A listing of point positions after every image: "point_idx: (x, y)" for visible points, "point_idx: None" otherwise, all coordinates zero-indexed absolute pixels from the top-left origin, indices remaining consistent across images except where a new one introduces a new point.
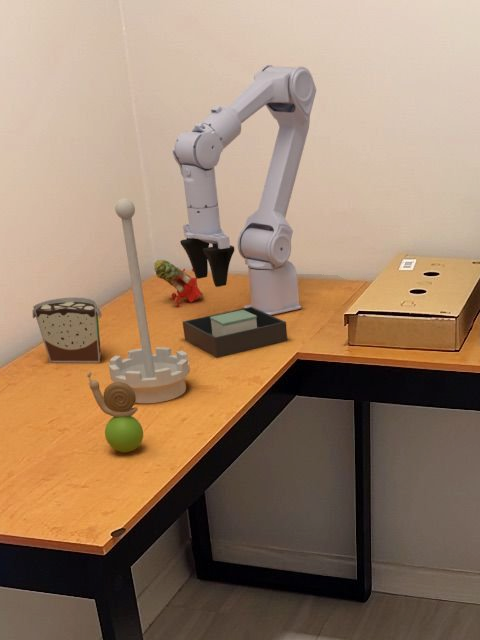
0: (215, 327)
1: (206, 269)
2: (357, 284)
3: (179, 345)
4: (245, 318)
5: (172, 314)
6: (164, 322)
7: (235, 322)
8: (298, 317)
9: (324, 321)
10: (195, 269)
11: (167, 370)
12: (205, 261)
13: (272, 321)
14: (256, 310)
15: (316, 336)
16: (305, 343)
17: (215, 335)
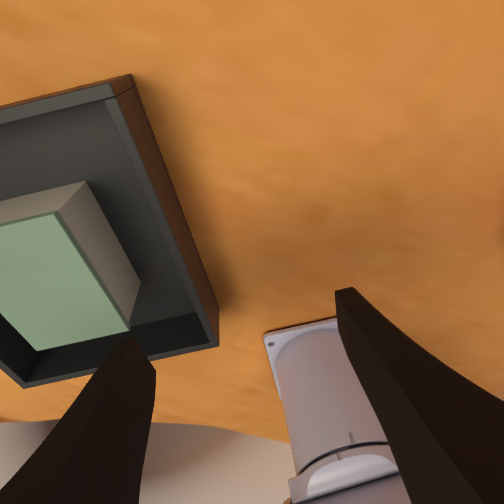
0: (32, 208)
1: (353, 362)
2: None
3: (56, 25)
4: (8, 320)
5: (480, 114)
6: (413, 51)
7: None
8: (228, 384)
9: (177, 411)
10: (356, 325)
11: None
12: (373, 405)
13: (86, 360)
14: (174, 349)
15: (72, 390)
16: None
17: (54, 192)
